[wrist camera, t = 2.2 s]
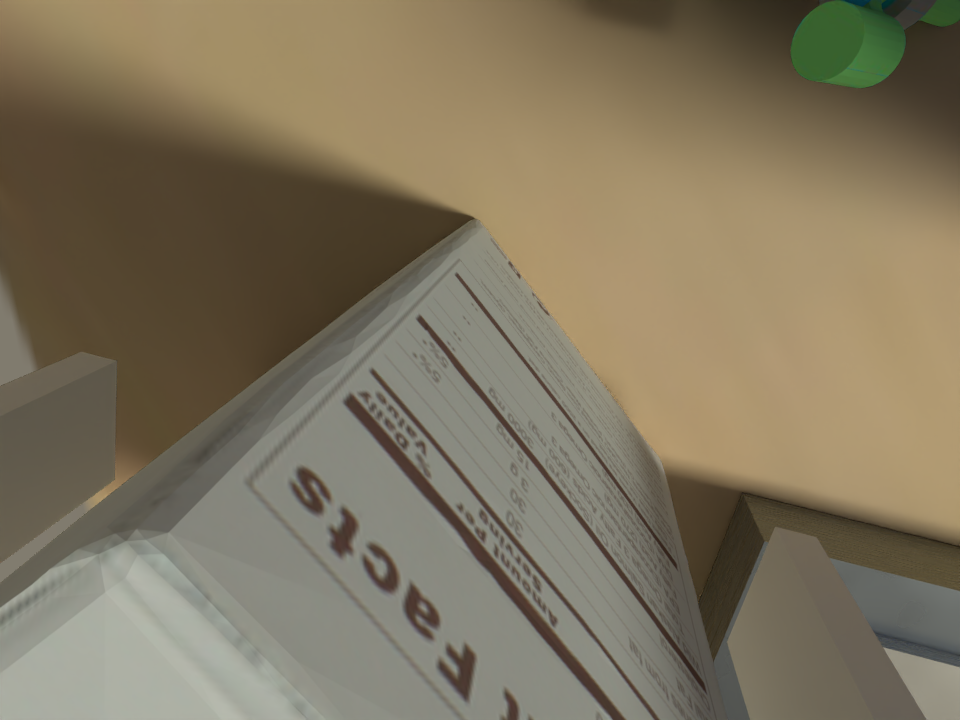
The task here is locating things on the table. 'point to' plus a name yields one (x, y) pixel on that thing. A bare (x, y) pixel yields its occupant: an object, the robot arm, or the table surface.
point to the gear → (861, 38)
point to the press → (873, 585)
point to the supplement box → (381, 538)
